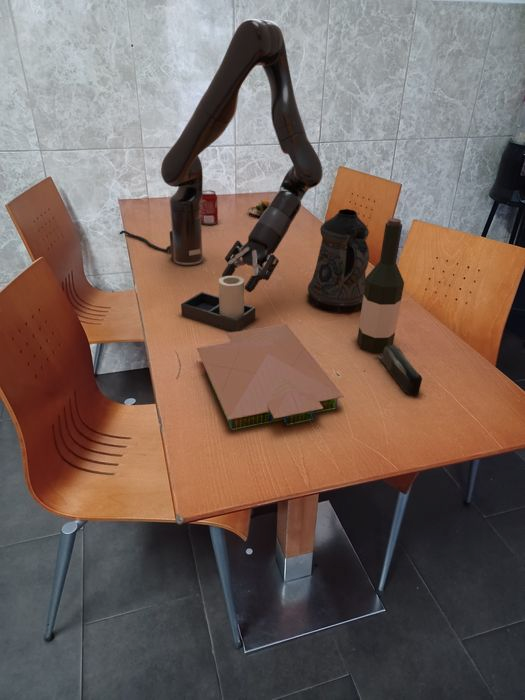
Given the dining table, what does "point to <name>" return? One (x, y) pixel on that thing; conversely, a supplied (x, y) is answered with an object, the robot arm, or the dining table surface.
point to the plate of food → (259, 208)
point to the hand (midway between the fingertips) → (235, 285)
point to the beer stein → (341, 264)
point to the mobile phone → (401, 370)
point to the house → (266, 375)
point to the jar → (231, 296)
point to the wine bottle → (382, 295)
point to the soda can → (209, 207)
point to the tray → (215, 313)
